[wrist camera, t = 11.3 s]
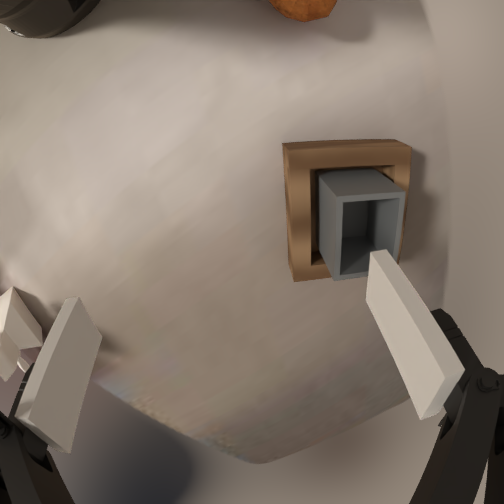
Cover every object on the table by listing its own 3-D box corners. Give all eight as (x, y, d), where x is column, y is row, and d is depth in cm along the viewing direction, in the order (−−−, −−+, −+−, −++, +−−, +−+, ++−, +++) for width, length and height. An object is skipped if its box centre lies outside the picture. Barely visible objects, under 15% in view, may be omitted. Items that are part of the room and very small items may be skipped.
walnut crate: (282, 143, 33) (288, 150, 29) (394, 139, 33) (411, 147, 29) (288, 263, 41) (294, 282, 37) (385, 252, 41) (397, 267, 37)
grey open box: (314, 171, 34) (336, 196, 27) (372, 167, 34) (405, 191, 27) (315, 242, 38) (333, 281, 31) (368, 236, 38) (395, 271, 31)
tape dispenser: (29, 346, 47) (3, 402, 35) (-13, 288, 40) (-51, 341, 28) (58, 341, 46) (31, 403, 34) (13, 278, 39) (-29, 336, 27)
